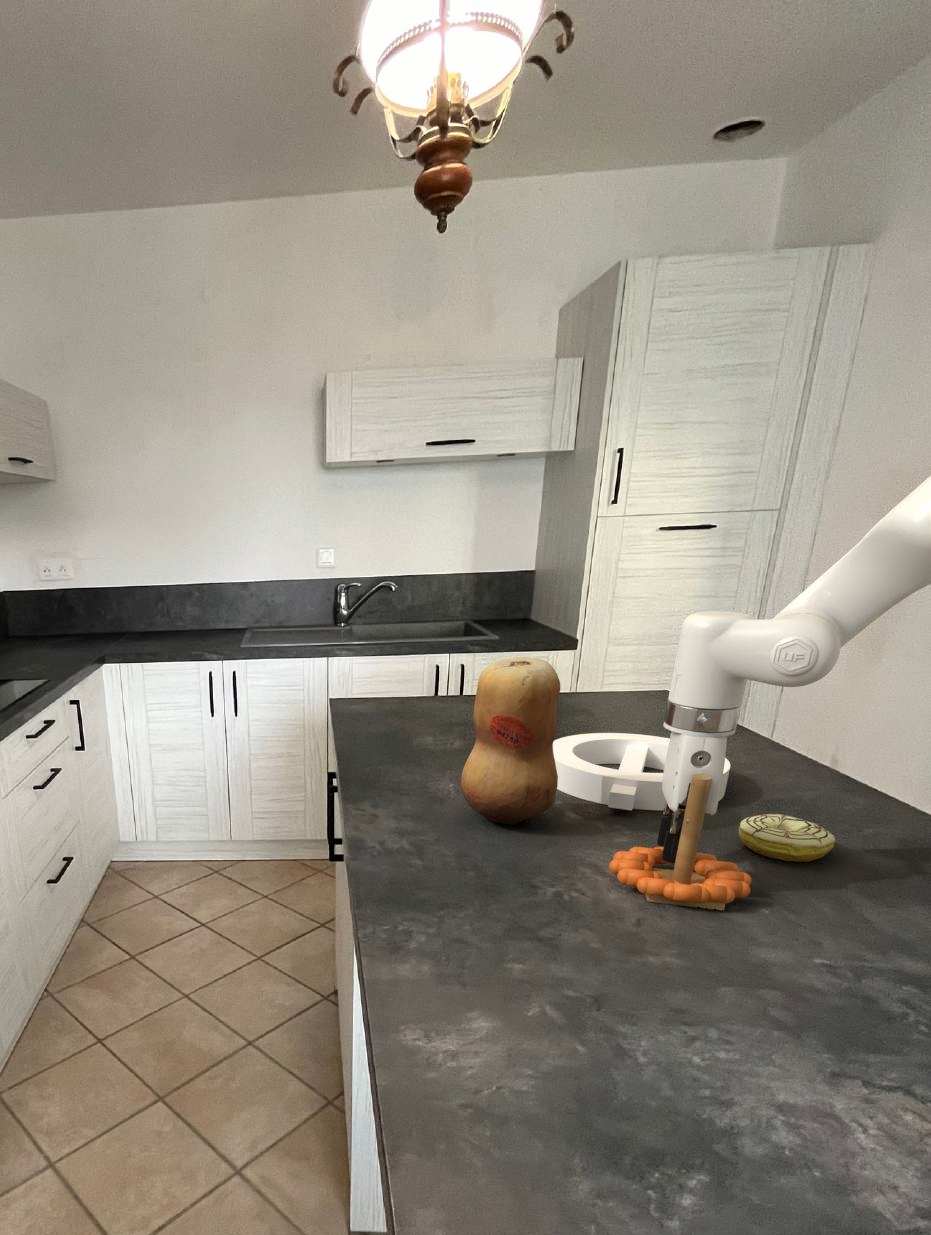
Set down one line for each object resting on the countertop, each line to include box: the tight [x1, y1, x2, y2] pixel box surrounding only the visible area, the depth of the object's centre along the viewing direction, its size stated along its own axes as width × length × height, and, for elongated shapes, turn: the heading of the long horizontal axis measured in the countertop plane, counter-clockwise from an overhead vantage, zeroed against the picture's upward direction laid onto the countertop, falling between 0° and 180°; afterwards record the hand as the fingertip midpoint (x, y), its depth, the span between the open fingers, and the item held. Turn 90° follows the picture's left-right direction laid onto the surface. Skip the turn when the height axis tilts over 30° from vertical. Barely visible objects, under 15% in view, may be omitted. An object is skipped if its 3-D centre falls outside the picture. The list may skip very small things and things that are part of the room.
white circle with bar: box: [553, 732, 731, 811], centre depth 126 cm, size 28×28×5 cm
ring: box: [608, 846, 753, 904], centre depth 90 cm, size 16×13×2 cm
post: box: [644, 774, 726, 912], centre depth 87 cm, size 8×8×15 cm
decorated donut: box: [738, 813, 836, 863], centre depth 99 cm, size 10×11×4 cm
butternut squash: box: [460, 656, 561, 825], centre depth 108 cm, size 14×13×25 cm
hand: (673, 852), depth 94 cm, fingers open, 4 cm apart
